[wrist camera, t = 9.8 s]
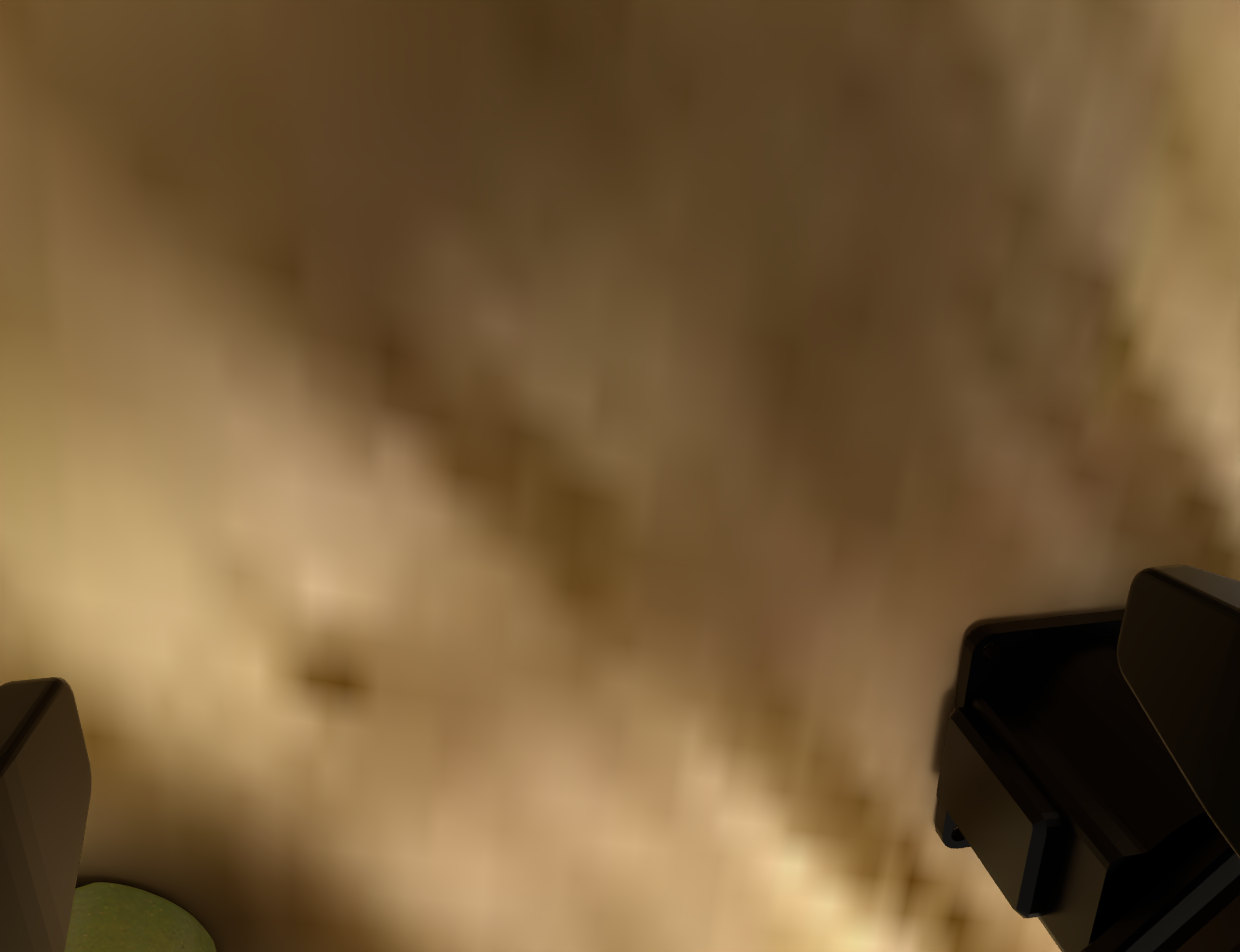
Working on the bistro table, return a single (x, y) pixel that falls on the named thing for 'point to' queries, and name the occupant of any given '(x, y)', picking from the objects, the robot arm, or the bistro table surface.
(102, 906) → the plant pot
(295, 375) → the bistro table surface
